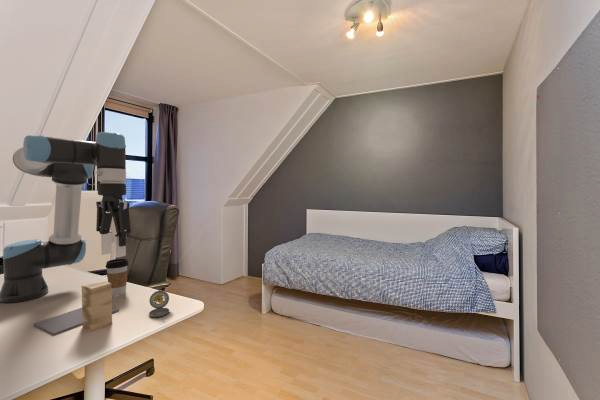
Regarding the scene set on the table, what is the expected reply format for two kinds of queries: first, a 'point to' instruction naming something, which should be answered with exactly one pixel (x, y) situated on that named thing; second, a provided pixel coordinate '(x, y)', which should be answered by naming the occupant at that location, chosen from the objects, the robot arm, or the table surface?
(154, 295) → the pocket watch
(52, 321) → the rubber mat
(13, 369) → the table surface
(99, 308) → the oak block
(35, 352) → the table surface
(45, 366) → the table surface
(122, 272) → the coffee cup
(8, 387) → the table surface
